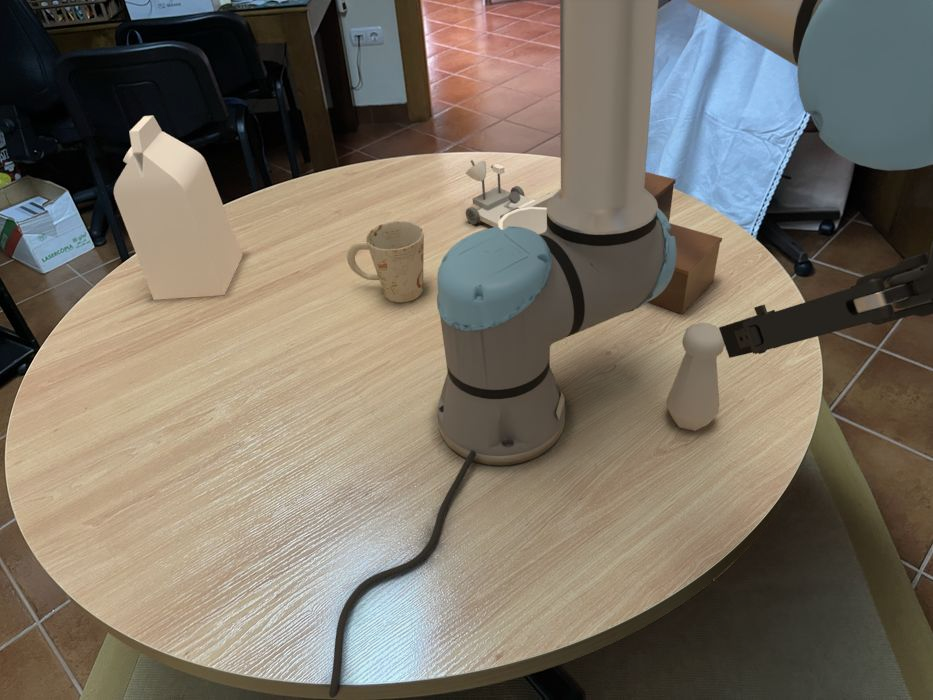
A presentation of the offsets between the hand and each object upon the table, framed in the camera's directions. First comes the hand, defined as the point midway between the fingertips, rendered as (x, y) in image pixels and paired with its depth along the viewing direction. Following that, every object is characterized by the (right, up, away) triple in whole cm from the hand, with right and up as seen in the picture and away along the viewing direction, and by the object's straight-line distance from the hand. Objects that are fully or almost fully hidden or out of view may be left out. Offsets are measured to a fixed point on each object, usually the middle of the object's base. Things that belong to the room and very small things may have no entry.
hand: (794, 320), depth 60 cm
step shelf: (-1, +8, +44) cm, 45 cm away
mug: (-40, +6, +47) cm, 62 cm away
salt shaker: (-2, -11, +22) cm, 24 cm away
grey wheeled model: (-20, +20, +61) cm, 68 cm away
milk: (-73, +9, +55) cm, 92 cm away
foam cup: (-18, +4, +42) cm, 46 cm away
